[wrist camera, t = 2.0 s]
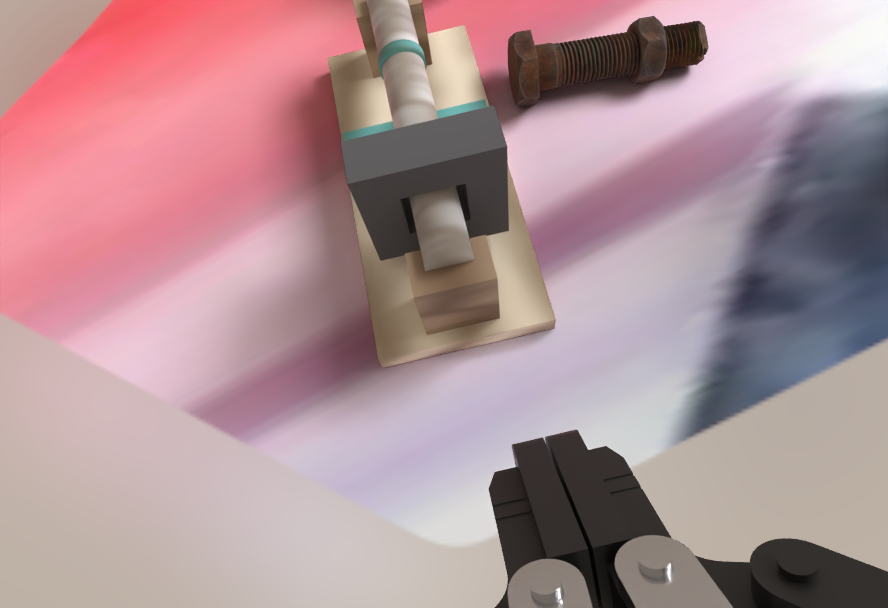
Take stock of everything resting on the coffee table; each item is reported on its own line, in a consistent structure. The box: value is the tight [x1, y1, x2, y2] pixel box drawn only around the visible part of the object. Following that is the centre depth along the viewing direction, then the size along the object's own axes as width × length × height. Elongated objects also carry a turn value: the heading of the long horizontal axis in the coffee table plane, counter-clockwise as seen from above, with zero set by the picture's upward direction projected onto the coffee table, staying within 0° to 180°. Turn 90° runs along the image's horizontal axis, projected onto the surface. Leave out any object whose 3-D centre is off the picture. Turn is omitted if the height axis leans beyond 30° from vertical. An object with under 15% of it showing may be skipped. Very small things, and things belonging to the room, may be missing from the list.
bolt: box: [508, 16, 708, 107], centre depth 48 cm, size 6×5×15 cm
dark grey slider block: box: [341, 105, 509, 261], centre depth 38 cm, size 9×3×9 cm, turn 102°
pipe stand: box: [328, 0, 555, 368], centre depth 44 cm, size 12×28×9 cm, turn 12°
